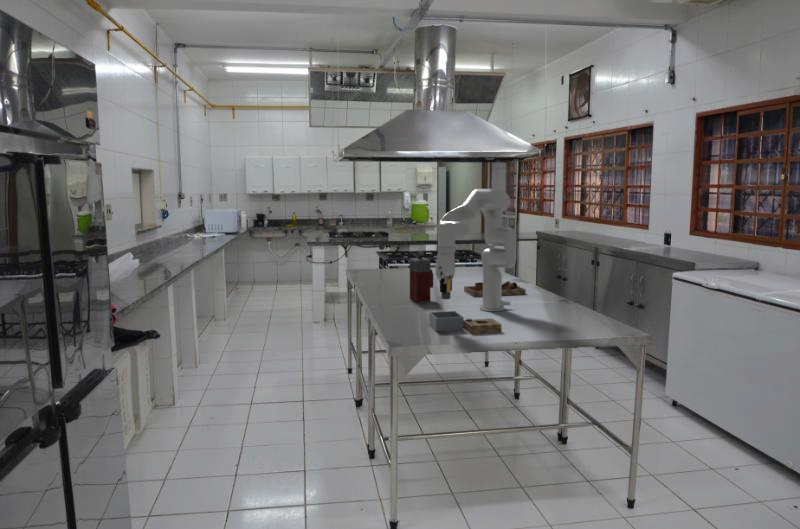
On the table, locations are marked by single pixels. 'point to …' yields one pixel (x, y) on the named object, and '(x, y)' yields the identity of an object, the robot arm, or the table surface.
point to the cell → (447, 294)
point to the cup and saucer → (478, 287)
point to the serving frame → (504, 292)
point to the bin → (446, 321)
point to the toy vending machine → (420, 278)
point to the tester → (481, 326)
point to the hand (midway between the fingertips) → (445, 291)
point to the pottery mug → (512, 285)
